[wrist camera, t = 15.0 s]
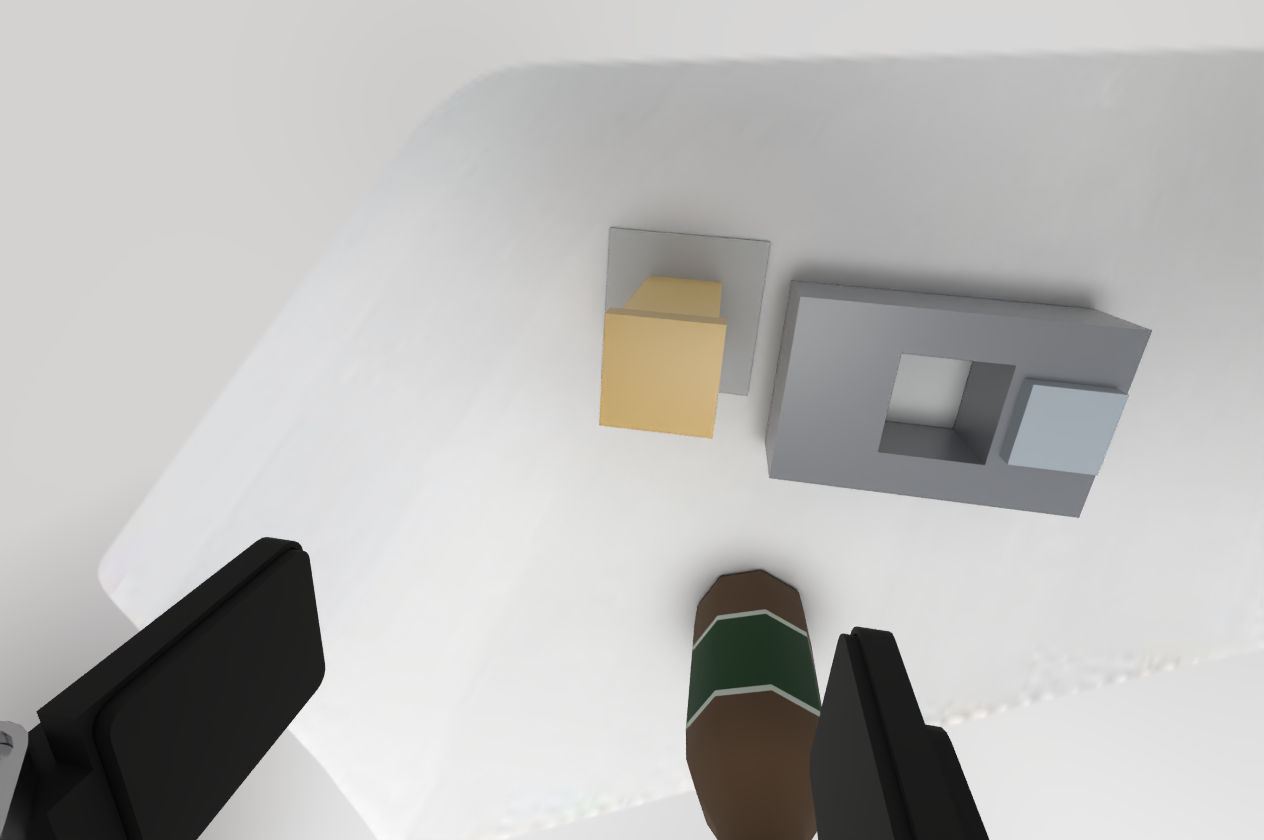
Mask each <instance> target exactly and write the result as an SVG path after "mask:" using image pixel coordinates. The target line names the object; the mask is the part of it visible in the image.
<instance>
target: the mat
mask: <svg viewBox="0 0 1264 840" xmlns="http://www.w3.org/2000/svg"><path fill="white" fill-rule="evenodd" d="M769 248H770V242H768V241H757V240H745V239H734V238H722V237H711V236H699V235H688V234H677V233H665V232H654V231H642V230H631V229H620V228H610V231H609V249H608V267H607V285H606V303H605V313H606V311H607V310H608V309H609V308H610V307H612V308H623V307H624V306H625V305H626V303H627V302H628V301H629V300H630V298H631V297H632V296H633V295H634V294H635V292H636V291H637V290H638V289H639V287H640V286H641V285H642V284H643V282H644V281H645V280H646V279H647V277H648V276H659V277H671V278H682V279H693V280H704V281H715V282H722V290H721V302H720V314H719V318H727V327H726V335H725V343H724V351H723V359H722V367H721V375H720V383H719V391H718V392H719V393H728V394H736V395H745V396H748V389H749V382H750V376H751V369H752V362H753V356H754V349H755V342H756V335H757V329H758V322H759V315H760V309H761V302H762V295H763V288H764V282H765V275H766V268H767V262H768V255H769ZM602 360H603V358H602ZM601 379H602V376H601Z"/></svg>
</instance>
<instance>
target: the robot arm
mask: <svg viewBox="0 0 1264 840" xmlns="http://www.w3.org/2000/svg"><path fill="white" fill-rule="evenodd" d="M324 674H325V661H324V654H323V647H322V640H321V633H320V627H319V620H318V613H317V606H316V599H315V592H314V585H313V578H312V572H311V565H310V558H309V555H308V554H307V552H305V551H303V549H302V546H301V545H300V544H299V543H298V542H295V541H290V540H283V539H277V538H270V537H265V538H261V539H259V540H258V541H256V542H255V543H254V544H252V545H251V546H250V547H249V548H247V549H246V550H245V551H243V552H242V553H241V554H239V555H238V556H237V557H236V558H234V559H233V560H232V561H230V562H229V563H228V564H227V565H225V566H224V567H223V568H221V569H220V570H219V571H217V572H216V573H215V574H214V575H212V576H211V577H210V578H208V579H207V580H206V581H205V582H203V583H202V584H201V585H199V586H198V587H197V588H196V589H194V590H193V591H192V592H190V593H189V594H188V595H186V596H185V597H184V598H183V599H181V600H180V601H179V602H177V603H176V604H175V605H174V606H172V607H171V608H170V609H168V610H167V611H166V612H164V613H163V614H162V615H161V616H159V617H158V618H157V619H155V620H154V621H153V622H152V623H150V624H149V625H148V626H146V627H145V628H144V629H143V630H141V631H140V632H139V633H137V634H136V635H135V636H133V637H132V638H131V639H130V640H128V641H127V642H126V643H124V644H123V645H122V646H121V647H119V648H118V649H117V650H115V651H114V652H113V653H111V654H110V655H109V656H108V657H106V658H105V659H104V660H103V661H101V662H100V663H99V664H97V665H96V666H95V667H94V668H92V669H91V670H90V671H88V672H87V673H86V674H84V675H83V676H82V677H80V678H79V679H78V680H77V681H75V682H74V683H73V684H71V685H70V686H69V687H68V688H66V689H65V690H64V691H62V692H61V693H60V694H58V695H57V696H56V697H55V698H53V699H52V700H51V701H49V702H48V703H47V704H46V705H44V706H43V707H42V708H40V709H39V710H38V711H37V714H38V717H39V719H40V722H41V723H40V724H38V725H37V726H36V727H35V728H33V729H32V730H31V731H29V732H27V731H26V730H25V729H24V727H23V726H22V725H19V724H16V723H13V722H10V721H0V840H196V839H198V837H199V836H200V835H201V834H202V832H203V831H204V830H205V829H206V827H207V826H208V825H209V823H210V822H211V821H212V820H213V819H214V817H215V816H216V815H217V814H218V812H219V811H220V810H221V809H222V807H223V806H224V805H225V804H226V803H227V801H228V800H229V799H230V797H231V796H232V795H233V794H234V792H235V791H236V790H237V789H238V787H239V786H240V785H241V784H242V782H243V781H244V780H245V779H246V778H247V776H248V775H249V774H250V773H251V771H252V770H253V769H254V768H255V766H256V765H257V764H258V763H259V761H260V760H261V759H262V758H263V756H264V755H265V754H266V752H267V751H268V750H269V749H270V748H271V746H272V745H273V744H274V743H275V741H276V740H277V739H278V738H279V736H280V735H281V734H282V733H283V731H284V730H285V729H286V728H287V727H288V725H289V724H290V723H291V722H292V720H293V719H294V718H295V717H296V715H297V714H298V713H299V712H300V710H301V709H302V708H303V707H304V705H305V704H306V703H307V702H308V700H309V699H310V698H311V697H312V695H313V694H314V693H315V692H316V690H317V689H318V688H319V686H320V684H321V682H322V680H323V677H324ZM810 780H811V787H812V795H813V803H814V810H815V818H816V826H817V833H818V840H989V838H988V835H987V833H986V830H985V827H984V825H983V822H982V820H981V817H980V814H979V812H978V810H977V807H976V804H975V802H974V799H973V796H972V794H971V791H970V789H969V786H968V784H967V781H966V778H965V776H964V773H963V771H962V768H961V766H960V763H959V761H958V758H957V755H956V753H955V750H954V747H953V745H952V742H951V741H950V738H949V736H948V734H947V732H945V730H944V729H943V728H942V727H937V726H931V725H925V723H924V720H923V717H922V714H921V712H920V709H919V706H918V703H917V700H916V697H915V695H914V692H913V689H912V686H911V683H910V680H909V678H908V675H907V672H906V669H905V666H904V663H903V661H902V658H901V655H900V652H899V649H898V646H897V644H896V641H895V638H894V636H893V634H892V633H891V632H889V631H882V630H876V629H869V628H863V627H854V628H853V630H852V632H851V635H848V634H841V635H840V636H839V639H838V643H837V647H836V651H835V655H834V659H833V663H832V667H831V671H830V676H829V680H828V684H827V688H826V692H825V696H824V700H823V704H822V708H821V712H820V716H819V720H818V725H817V729H816V733H815V737H814V741H813V745H812V749H811V754H810Z"/></svg>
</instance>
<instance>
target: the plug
mask: <svg viewBox="0 0 1264 840" xmlns="http://www.w3.org/2000/svg"><path fill="white" fill-rule="evenodd" d="M721 290H722V282H715V281H704V280H693V279H682V278H671V277H659V276H648V277H647V279H646V280H645V281H644V282H643V284H642V285H641V286H640V287H639V289H638V290H637V291H636V292H635V294H634V295H633V296H632V297H631V298H630V300H629V301H628V302H627V303H626V305H625V306H624V307H623V308H612V307H610V308H609V309H608V310H607V311H606V313H605V320H604V340H603V360H602V381H601V401H600V421H599V425H602V426H611V427H619V428H628V429H636V430H645V431H653V432H662V433H670V434H679V435H687V436H696V437H704V438H713V431H714V423H715V415H716V407H717V399H718V391H719V383H720V375H721V367H722V359H723V351H724V343H725V335H726V327H727V318H719V314H720V302H721Z"/></svg>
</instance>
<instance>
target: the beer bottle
mask: <svg viewBox="0 0 1264 840" xmlns="http://www.w3.org/2000/svg"><path fill="white" fill-rule="evenodd" d="M821 708H822V706H821V700H820V694H819V688H818V682H817V677H816V671H815V665H814V659H813V653H812V647H811V642H810V638H809V634H808V629H807V625H806V620H805V616H804V612H803V607H802V604H801V600H800V596H799V592H798V591H796V590H795V589H793V588H791V587H789V586H788V585H786V584H784V583H782V582H781V581H779V580H777V579H775V578H774V577H772V576H770V575H768V574H767V573H765V572H763V571H754V572H748V573H741V574H734V575H728V576H721V577H720V578H719V579H718V581H717V582H716V583H715V584H714V586H713V587H712V588H711V590H710V591H709V592H708V593H707V595H706V596H705V597H704V599H703V600H702V601H701V603H700V604H699V605H698V606H697V612H696V618H695V625H694V637H693V649H692V662H691V674H690V686H689V699H688V711H687V723H686V760H687V763H688V766H689V770H690V773H691V776H692V780H693V783H694V786H695V789H696V792H697V795H698V798H699V801H700V804H701V807H702V810H703V813H704V816H705V819H706V822H707V825H708V826H709V828H710V829H711V831H712V832H713V834H714V835H715V836H716V838H717V839H718V840H812V838H813V837H814V835H815V834H816V832H817V826H816V818H815V810H814V803H813V795H812V787H811V780H810V754H811V749H812V745H813V741H814V737H815V733H816V729H817V725H818V720H819V716H820V712H821Z"/></svg>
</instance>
